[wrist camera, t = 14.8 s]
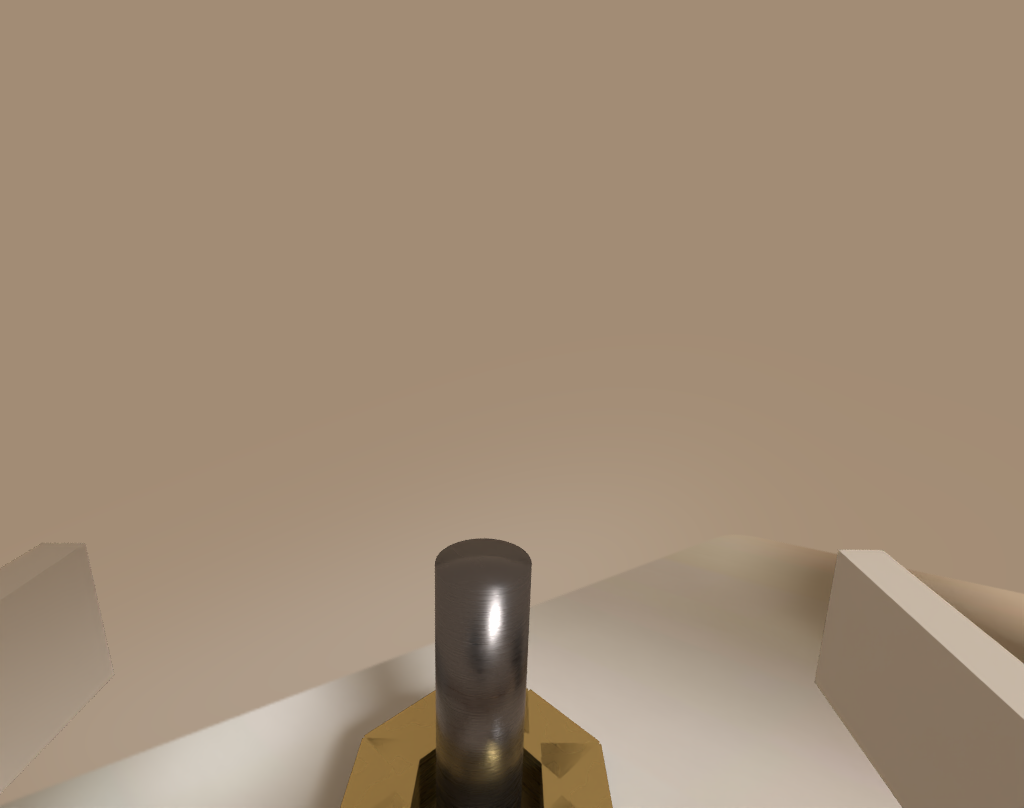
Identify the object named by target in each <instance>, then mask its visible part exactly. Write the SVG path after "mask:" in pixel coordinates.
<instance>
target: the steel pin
mask: <svg viewBox="0 0 1024 808" xmlns="http://www.w3.org/2000/svg"><path fill="white" fill-rule="evenodd" d="M531 565H532V563H531V559H530V557H529V555H528V554H527V553H526V552H525V551H524V550H523V549H522V548H520V547H518V546H516V545H514V544H511V543H509V542H506V541H502V540H495V539H471V540H465V541H461V542H458V543H455V544H453V545H450V546H448V547H447V548H445V549H444V550H442V551H441V552H440V553H439V555H438V556H437V558H436V561H435V667H436V808H521V794H522V771H523V748H524V725H525V703H526V680H527V657H528V634H529V612H530V588H531Z"/></svg>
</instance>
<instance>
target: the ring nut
mask: <svg viewBox="0 0 1024 808" xmlns="http://www.w3.org/2000/svg"><path fill="white" fill-rule="evenodd" d="M364 736H365V738H362V741H361V744H360V747H359V750H358V754H357V757H356V760H355V763H354V766H353V769H352V772H351V776H350V779H349V782H348V785H347V788H346V791H345V794H344V797H343V801H342V804H341V807H340V808H436V690H435V691H433V692H432V693H430V694H429V695H427V696H426V697H424V698H422V699H421V700H419V701H418V702H416V703H415V704H413V705H411V706H410V707H408V708H407V709H405V710H404V711H402V712H400V713H399V714H397V715H396V716H394V717H393V718H391V719H389V720H388V721H386V722H385V723H383V724H382V725H380V726H378V727H377V728H375V729H374V730H372V731H371V732H369V733H368V734H366V735H364ZM521 808H613V807H612V801H611V796H610V790H609V785H608V779H607V774H606V768H605V763H604V757H603V752H602V746H601V744H599V741H598V740H597V739H595V738H594V737H593V736H591V735H590V734H589V733H587V732H586V731H585V730H583V729H582V728H581V727H580V726H578V725H577V724H576V723H574V722H573V721H572V720H570V719H569V718H568V717H566V716H565V715H564V714H562V713H561V712H560V711H558V710H557V709H556V708H554V707H553V706H552V705H550V704H549V703H548V702H546V701H545V700H544V699H543V698H541V697H540V696H539V695H537V694H536V693H535V692H533V691H532V690H531V689H530V690H529V691H528V689H526V703H525V725H524V748H523V771H522V794H521Z"/></svg>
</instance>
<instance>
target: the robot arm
mask: <svg viewBox="0 0 1024 808" xmlns="http://www.w3.org/2000/svg"><path fill="white" fill-rule="evenodd" d="M113 676H114V671H113V667H112V662H111V658H110V653H109V648H108V644H107V639H106V635H105V631H104V626H103V621H102V617H101V613H100V608H99V603H98V599H97V594H96V589H95V585H94V580H93V576H92V571H91V567H90V562H89V558H88V553H87V549H86V544H85V543H41V544H39V545H38V546H36V547H34V548H33V549H31V550H29V551H28V552H26V553H24V554H23V555H21V556H19V557H18V558H16V559H14V560H13V561H11V562H10V563H8V564H6V565H5V566H3V567H1V568H0V794H1V793H2V792H3V791H4V790H5V789H6V788H7V787H8V786H9V785H10V784H11V782H12V781H13V780H14V779H15V778H16V777H17V776H18V775H19V774H20V773H21V772H22V771H23V770H24V769H25V768H26V767H27V766H28V765H29V764H30V763H31V762H32V760H34V759H35V757H36V756H37V755H38V754H39V753H40V752H41V751H42V750H43V749H44V748H45V747H46V746H47V745H48V744H49V743H50V742H51V741H52V740H53V739H54V738H55V737H56V736H57V735H58V733H59V732H60V731H61V730H62V729H63V728H64V727H65V726H66V725H67V724H68V723H69V722H70V721H71V720H72V719H73V718H74V717H75V716H76V715H77V713H78V712H80V710H81V709H82V708H83V707H84V706H85V705H86V704H87V703H88V702H89V701H90V700H91V699H92V698H93V697H94V696H95V695H96V694H97V693H98V692H99V691H100V689H102V687H103V686H104V685H105V684H106V683H107V682H108V681H109V680H110V679H111V678H112V677H113ZM815 683H816V685H817V686H818V688H819V689H820V690H821V692H822V693H823V695H824V696H825V698H826V699H827V700H828V702H829V703H830V705H831V706H832V708H833V709H834V711H835V712H836V713H837V715H838V716H839V718H840V719H841V721H842V722H843V723H844V725H845V726H846V728H847V729H848V731H849V732H850V733H851V735H852V736H853V738H854V739H855V741H856V742H857V743H858V745H859V746H860V748H861V749H862V751H863V752H864V753H865V755H866V756H867V758H868V759H869V761H870V762H871V763H872V765H873V766H874V768H875V769H876V771H877V772H878V773H879V775H880V776H881V778H882V779H883V781H884V782H885V783H886V785H887V786H888V788H889V789H890V791H891V792H892V793H893V795H894V796H895V798H896V799H897V801H898V802H899V803H900V805H901V806H902V808H1024V663H1022V662H1021V661H1020V660H1019V659H1017V658H1016V657H1015V656H1014V655H1012V654H1011V653H1010V652H1009V651H1007V650H1006V649H1005V648H1004V647H1002V646H1001V645H1000V644H999V643H997V642H996V641H995V640H994V639H993V638H991V637H990V636H989V635H988V634H986V633H985V632H984V631H983V630H981V629H980V628H979V627H978V626H976V625H975V624H974V623H973V622H971V621H970V620H969V619H968V618H966V617H965V616H964V615H963V614H961V613H960V612H959V611H958V610H956V609H955V608H954V607H953V606H952V605H950V604H949V603H948V602H947V601H945V600H944V599H943V598H942V597H940V596H939V595H938V594H937V593H935V592H934V591H933V590H932V589H930V588H929V587H928V586H927V585H925V584H924V583H923V582H922V581H920V580H919V579H918V578H917V577H915V576H914V575H913V574H912V573H910V572H909V571H908V570H907V569H906V568H904V567H903V566H902V565H901V564H899V563H898V562H897V561H896V560H894V559H893V558H892V557H891V556H889V555H888V554H887V553H886V552H884V551H883V550H838V555H837V560H836V566H835V571H834V577H833V583H832V588H831V594H830V599H829V605H828V610H827V616H826V622H825V627H824V633H823V638H822V644H821V649H820V655H819V661H818V666H817V672H816V677H815Z"/></svg>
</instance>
